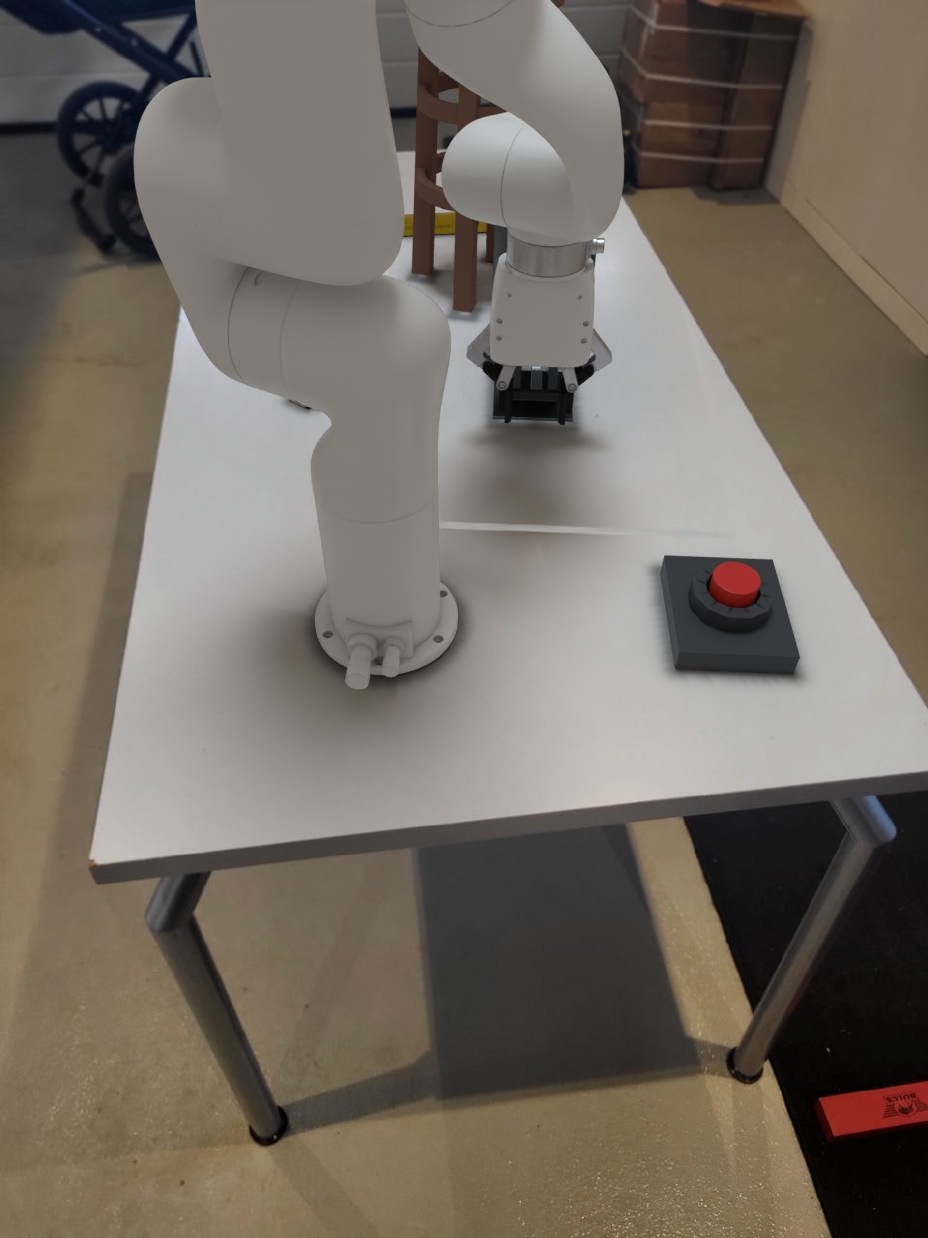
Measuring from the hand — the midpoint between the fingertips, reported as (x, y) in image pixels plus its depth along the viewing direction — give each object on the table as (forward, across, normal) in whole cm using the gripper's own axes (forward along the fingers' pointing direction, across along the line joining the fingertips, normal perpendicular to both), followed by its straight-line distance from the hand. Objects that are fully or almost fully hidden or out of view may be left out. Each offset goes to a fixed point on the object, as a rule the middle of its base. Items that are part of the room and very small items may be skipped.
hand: (534, 415), depth 95 cm
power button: (0, -17, +26) cm, 31 cm away
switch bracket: (+4, 0, -8) cm, 9 cm away
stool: (+4, +7, -37) cm, 38 cm away
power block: (+4, -17, +26) cm, 31 cm away
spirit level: (+4, +23, -52) cm, 57 cm away
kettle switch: (-4, 0, -5) cm, 6 cm away
